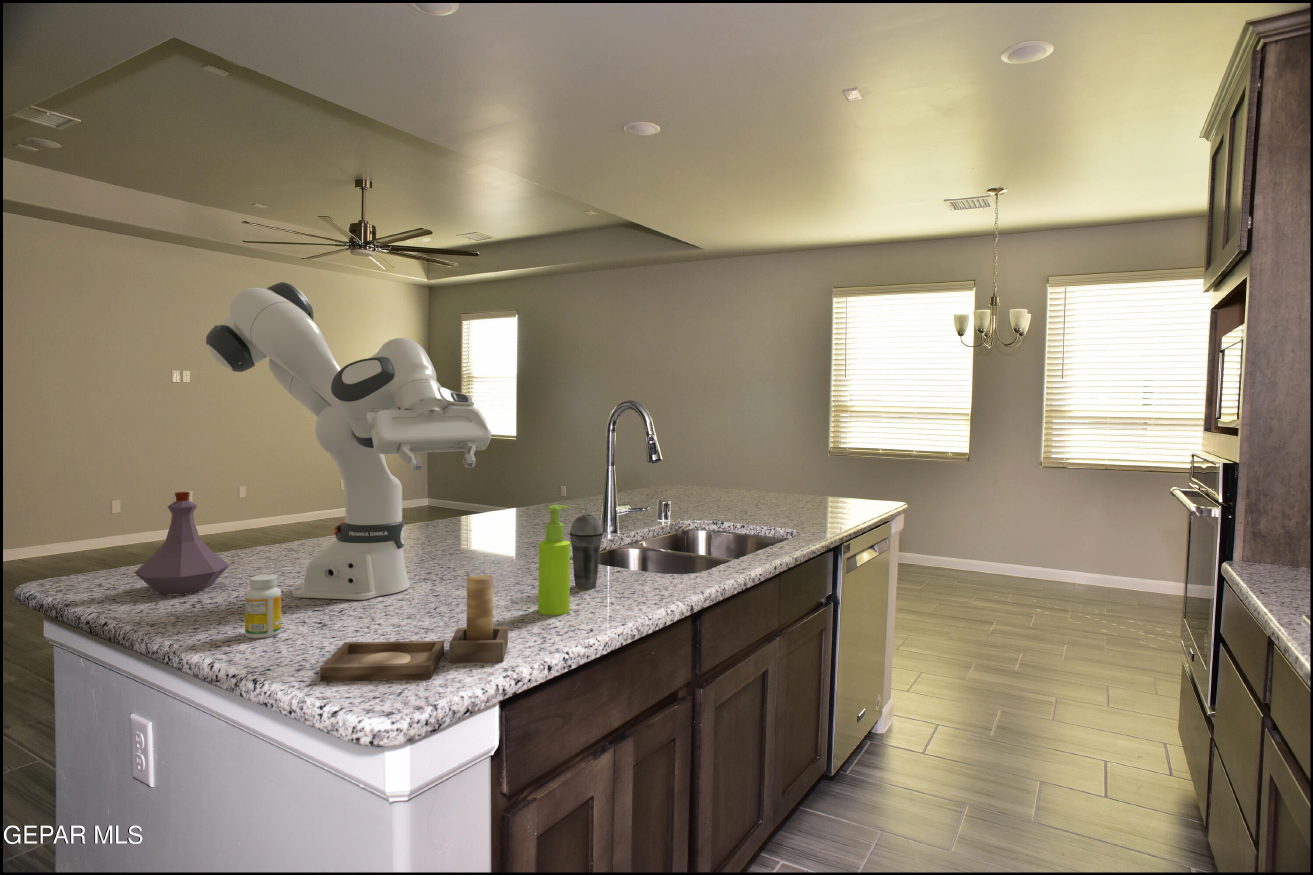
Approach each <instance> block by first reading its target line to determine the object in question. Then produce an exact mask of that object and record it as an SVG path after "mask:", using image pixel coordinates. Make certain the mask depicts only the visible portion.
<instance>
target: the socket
mask: <svg viewBox="0 0 1313 875" xmlns="http://www.w3.org/2000/svg"><path fill="white" fill-rule="evenodd" d="M448 643H449V644H448V649H449V650H448V653H449V654H448V659H449V660H448V663H449V664H459V663H465V664H466V663H504V660H505V657H506V653H507V651H508V650H507V649H508V647H509V626H493V640H467V626H463V627H459V626H458V627H456V630H455V631H454V634H453V636H452V637H451V639H450V641H449V642H448Z"/></svg>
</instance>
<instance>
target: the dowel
mask: <svg viewBox="0 0 1313 875" xmlns="http://www.w3.org/2000/svg"><path fill="white" fill-rule="evenodd" d="M466 627H467V640H493V627H494V576H492V575H489V574H475V575H469V576H467V577H466Z"/></svg>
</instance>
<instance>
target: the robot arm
mask: <svg viewBox="0 0 1313 875" xmlns="http://www.w3.org/2000/svg"><path fill="white" fill-rule="evenodd" d="M205 339H206V340H205V344H206V347H207V349H208V352H209V353H210V355H211V356H212V357H213V360H214V361H216V362H217V363H218V364H219V365H221V366H223V367H224V368H226V369H229V370H231V371H232V372H235V373H236V372H237V373H243V372H246V371H248V370H251V369H252V368H254V367H255V366H256V364H258V363H259V362H262V361H264V360H265V359H267V358H268V367H269V371H270V372H271V373H272V375H273V377H274V378H275V379H276V381H277V382H278V383H279V385H281V387H282V388H283V389H284V390H285V391H286V392H287V393H289V395H290V396H292V397H293V398H294V399H295V400H296V401H297V402H299V403H300V404H301V405H302V406H304V407H305V408H306V409H307V410H308V411H310V412H311V414H313V415H315V416H316V417H317V419H316V421H315V426H314V428H315V429H314V433H315V436H316V437H315V439H316V440H317V443H318V444H319V445H320V447H321V448H322V449H323V450H324V451H325V452H326V453H327V454H329V455H330V456H331V457H332V459H333V461H334V462H335V464H336V465H337V467H338V470H339V472H340V476H341V478H342V483H343V488H344V505H345V508H344V509H345V510H344V511H345V512H344V513H345V514H344V515H345V520H342V521H340V522H339V523H338V525H336V526H335V527H334V528H333V530H334V531H333V535H335V539H336V540H335V541H333V542H332V543H331V544H330V545H327V547H325V548H324V549H322V550H321V551H320V552H318V553H317V555H315V556H314V557H313V558H311V559H310V561H309V562H308V564H307V566H306V568H305V573H304V581H303V580H302V581H300V582H299V583H297V584H296V585H294V586H293V588H292V589H291V590H292V591H291V595H292V596H293V598H306V599H309V598H311V599H328V600H329V599H331V600H332V599H335V600H357V601H361V600H362V601H363V600H369V599H373V598H376V597H382V596H386V595H387V596H388V595H393V594H396V593H399V592H403V591H405V590H407V589H409V588H410V587H411V584H410V583H411V582H410V580H409V576H408V573H407V572H408V571H407V569H406V562H405V554H404V547H405V542H406V541H405V540H406V526H405V521H404V519H403V485H402V483H401V481H400V480H399V479H398V478H397V477H396V476H394V475H393V474H392V473H391V472H390V470H389V468H388V465H387V462H386V456H385V455H398V456H399V458H400V459H402V460H403V461H404V462H405V463H406V464H407V465H408V466H409V468H410V470H411V472H412V471H414V472H415V471H421V470H422V467H423V461H422V459H421V456H415V454H419V453H421V454H422V453H440V452H441V453H443V452H444V453H445V452H464V453H465V454H464V458H463V459H462V463H463V465H464V468H475V465H476V462H477V461H476V457H475V455H474V454H475V452H476V451H484V450H486V449H487V447H488V446H489V444H490V442H491V439H492V430H491V428H490V426H489V424H488V422H487V420H486V419H485V416H484V415H483V413H482V412H481V410H480V409H478V408H476V407H475V406H474V405H475V400H474V398H473V396H471V395H470V394H465V393H461V392H457V391H453V390H450V389H448V388H445V387H443V386H441V384H440V383H439V381H437V379H438V378H437V373H436V370H435V368H434V365H433V363H432V360H431V359H430V356H429V355H428V353H427V352H426V350H425V349H424V347H422V346H421V344H419V343H418V342H416V341H415V340H412V339H410V338H407V337H397V338H393V339H389V340H388V341H385V343H383V344H382V345H381V347H380V348H379V349H378V351H377V352H376V353H374V354H373V355H371V356H370V357H367V358H363V359H359V360H355V361H352V362H351V363H348V364H346V365H344V366H343V367H341V366H339V364H338V362H337V361H336V359H335V357H334V355H333V353H332V351H331V349H330V347H329V345H328V343H327V341H326V340H325V337H324V335H323V333H322V331H321V329H320V328H319V327H318V325H317V324H316V322H315V320H314V310H313V307H312V305H311V302H310V301H309V299H308V297H307V296H306V294H304V293H303V292H302V291H301V290H300V289H298V288H296V286H293V285H292V284H290V283H288V282H286V281H285V282H283V281H282V282H278V283H274V284H272V285H270V286H268V287H267V289H266V288H262V287H258V286H257V287H248V288H245V289H242V290H240V291H239V292H238V293H237V294H235V295H234V297H233V298H232V299H231V302H230V305H229V315H228V316H227V317H226V318H224V319H223V320H222V321H221V322H220V323H219V324H218V325H214V326H213V327H212V328H211V330H210V331H208V333H207V334H206V337H205Z"/></svg>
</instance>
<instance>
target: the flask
mask: <svg viewBox="0 0 1313 875" xmlns="http://www.w3.org/2000/svg"><path fill="white" fill-rule="evenodd" d="M174 495H175V496H174V497H175V501H173V502H172V503H171V504H169V505H167V509H168V510H169V512H170V514H171V520H170V521H171V522H170V525H169V528H168V532H167V535H166V538H165V541H164V542H163V543H162V544H161V546H159V548H158V549H157V550H156V551H155V553H153V555H151V556H150V558H148V559H146V561H145V562H144V563H143V564H142V565H140V567H139V568H137V570H135V572H134V574H135V575H136V576H137V577H138V578H140V580H142V582H144V583H145V584H146V585H147V586H148V587H149V588H151V589H152V590H153V591H154V592H155V591H156V592H155V593H157V592H158V593H157V594H159V593H160V595H161V594H184V595H186V594H185V593H190V592H196V591H202V590H204V589H206V588H208V587H209V588H211V587H212V586H213V585H214V583H215V582H216V581H217V580H218V579H219V577H221V576H222V574H223V573H224V572H226V570H227V568H229V567H230V564H229V563H227V561H225V560H224V559H223V558H221V557H220V556H219V555H218V554H216V553H215V552H214V551H213V550H212V549H211V548H209V546H208V545H206V543H205V542H203V540H202V539H201V537H200V534H199V532H198V529H197V527H196V523H195V520H194V519H195V518H194V512H195V510H196V508H197V506H198V505H197V504H196V503H194V502H192V501H191V500H190V491H176V492H174ZM210 586H211V587H210ZM209 588H208V589H209ZM206 590H207V589H206ZM204 591H205V590H204ZM202 592H203V591H202ZM196 593H197V592H196ZM190 594H191V593H190Z"/></svg>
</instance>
